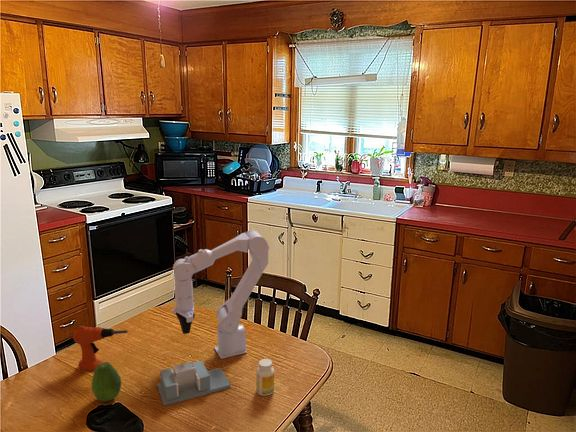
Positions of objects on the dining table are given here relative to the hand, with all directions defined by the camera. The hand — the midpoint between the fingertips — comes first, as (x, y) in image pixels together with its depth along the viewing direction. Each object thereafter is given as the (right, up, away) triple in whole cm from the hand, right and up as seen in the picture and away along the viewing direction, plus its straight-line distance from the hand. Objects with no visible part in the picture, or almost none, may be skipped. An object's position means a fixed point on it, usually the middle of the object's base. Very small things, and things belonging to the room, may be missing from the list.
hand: (186, 332), depth 147 cm
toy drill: (-26, -11, -4) cm, 28 cm away
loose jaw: (+7, -12, -13) cm, 19 cm away
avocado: (-18, -14, -19) cm, 30 cm away
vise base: (+6, -13, -13) cm, 20 cm away
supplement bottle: (+28, -14, -15) cm, 34 cm away
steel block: (+3, -12, -15) cm, 20 cm away
